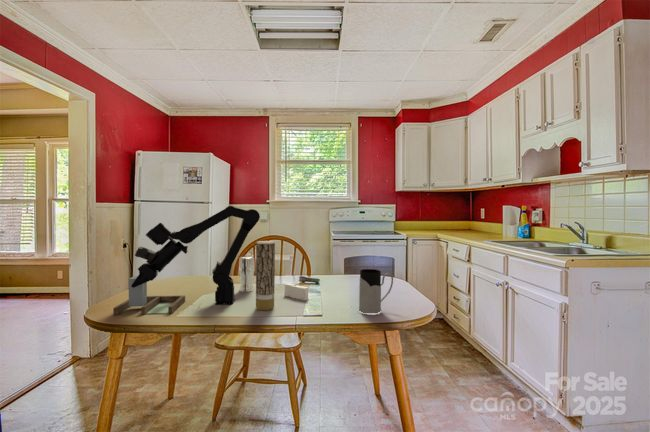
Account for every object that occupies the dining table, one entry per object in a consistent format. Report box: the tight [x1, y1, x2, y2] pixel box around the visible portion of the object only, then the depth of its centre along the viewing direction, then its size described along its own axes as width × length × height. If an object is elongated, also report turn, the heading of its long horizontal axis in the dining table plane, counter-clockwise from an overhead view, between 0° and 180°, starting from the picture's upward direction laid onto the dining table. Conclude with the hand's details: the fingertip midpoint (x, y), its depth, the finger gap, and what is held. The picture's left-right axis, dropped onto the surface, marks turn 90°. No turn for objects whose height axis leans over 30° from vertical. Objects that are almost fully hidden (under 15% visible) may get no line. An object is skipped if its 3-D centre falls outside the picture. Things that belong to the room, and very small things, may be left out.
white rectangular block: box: [284, 282, 309, 301], centre depth 139 cm, size 15×11×6 cm
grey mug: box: [358, 268, 394, 313], centre depth 121 cm, size 9×14×15 cm, turn 113°
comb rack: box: [113, 294, 186, 316], centre depth 121 cm, size 19×15×2 cm
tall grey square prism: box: [128, 276, 148, 308], centre depth 120 cm, size 4×4×10 cm
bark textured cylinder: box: [255, 240, 276, 312], centre depth 122 cm, size 7×7×25 cm
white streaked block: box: [238, 255, 256, 293], centre depth 149 cm, size 7×7×15 cm
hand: (133, 285), depth 120 cm, fingers closed on tall grey square prism, 5 cm apart
